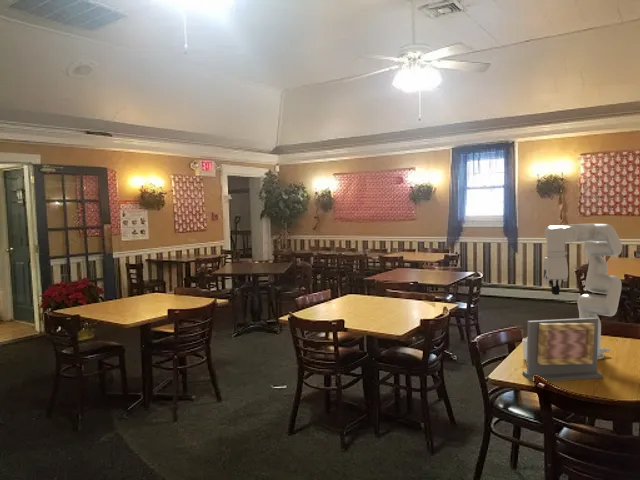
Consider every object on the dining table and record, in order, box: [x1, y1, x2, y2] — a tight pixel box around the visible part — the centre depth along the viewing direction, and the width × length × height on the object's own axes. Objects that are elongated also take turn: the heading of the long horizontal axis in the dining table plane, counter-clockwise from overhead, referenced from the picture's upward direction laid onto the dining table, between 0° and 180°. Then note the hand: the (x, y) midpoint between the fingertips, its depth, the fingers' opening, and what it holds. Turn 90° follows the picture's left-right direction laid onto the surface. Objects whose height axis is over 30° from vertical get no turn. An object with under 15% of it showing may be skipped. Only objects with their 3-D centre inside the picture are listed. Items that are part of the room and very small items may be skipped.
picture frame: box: [537, 322, 595, 365], centre depth 219 cm, size 24×3×18 cm, turn 95°
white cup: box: [522, 337, 527, 362], centre depth 246 cm, size 8×8×10 cm
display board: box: [522, 317, 604, 382], centre depth 222 cm, size 32×10×26 cm, turn 95°
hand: (555, 294), depth 226 cm, fingers closed
